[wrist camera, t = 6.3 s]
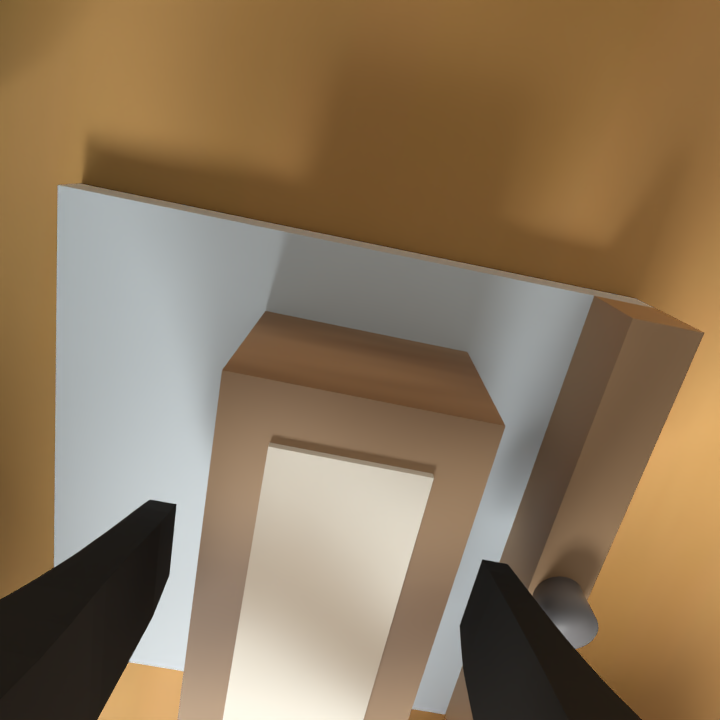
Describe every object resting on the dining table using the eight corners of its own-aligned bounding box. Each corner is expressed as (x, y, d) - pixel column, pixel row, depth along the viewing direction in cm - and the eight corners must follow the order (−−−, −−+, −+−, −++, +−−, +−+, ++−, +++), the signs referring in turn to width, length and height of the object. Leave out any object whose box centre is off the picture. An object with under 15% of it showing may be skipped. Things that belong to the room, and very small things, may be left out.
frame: (379, 653, 17) (382, 804, 13) (218, 625, 16) (169, 770, 12) (467, 352, 13) (507, 430, 9) (265, 311, 13) (219, 373, 9)
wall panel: (484, 693, 18) (513, 829, 15) (70, 623, 18) (-12, 747, 14) (635, 298, 14) (735, 348, 10) (80, 183, 13) (-39, 190, 9)
